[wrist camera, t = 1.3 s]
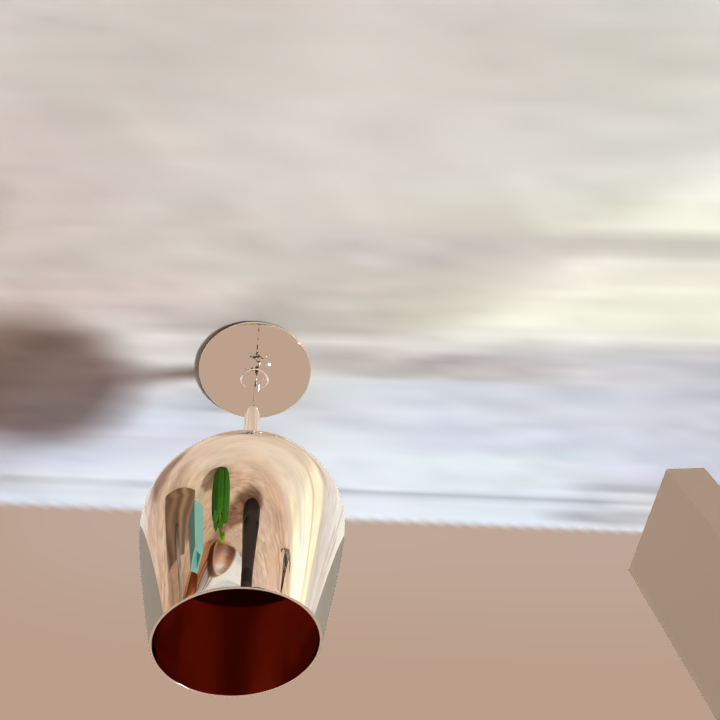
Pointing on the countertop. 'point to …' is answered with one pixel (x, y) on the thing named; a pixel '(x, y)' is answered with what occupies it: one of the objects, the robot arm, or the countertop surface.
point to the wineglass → (242, 532)
